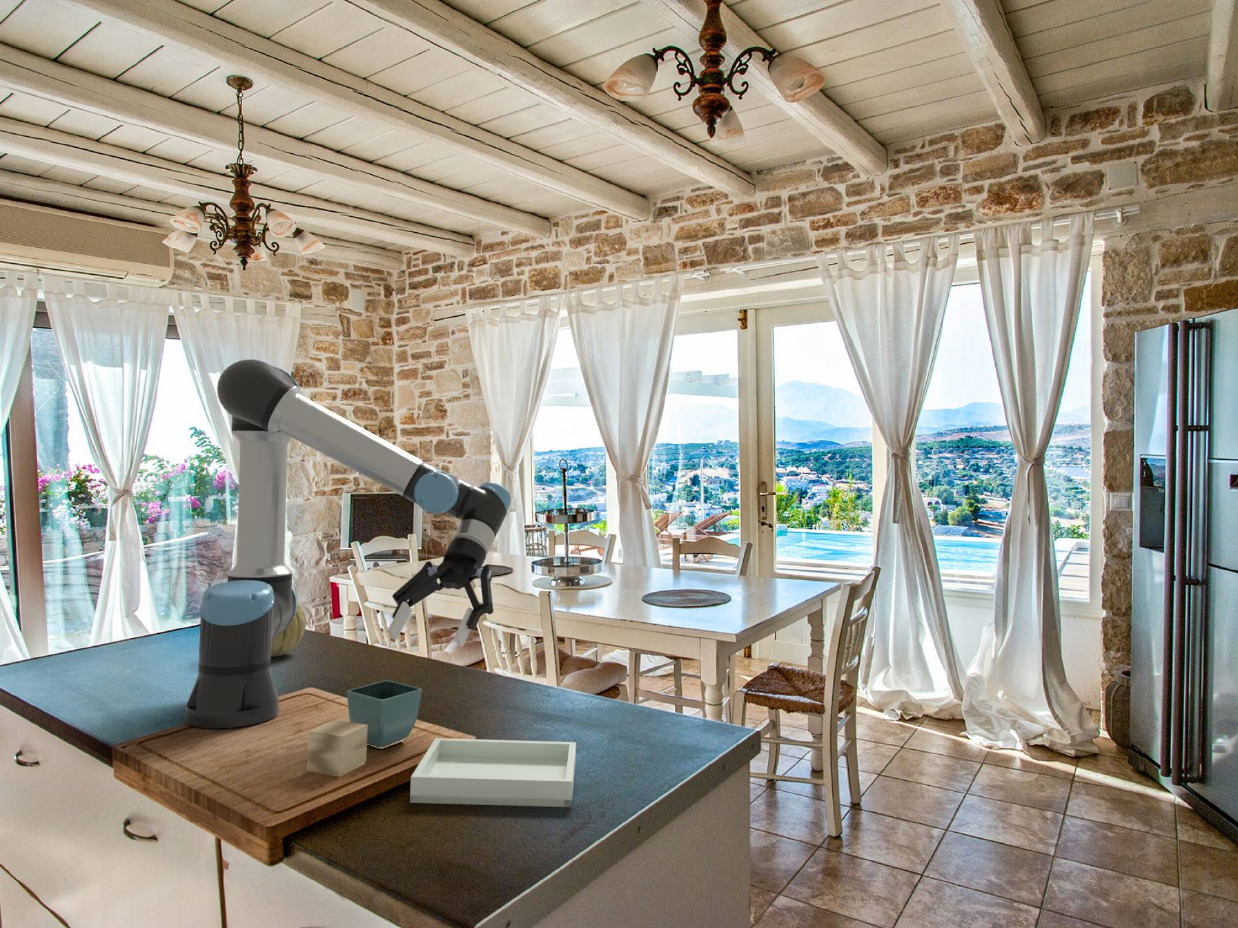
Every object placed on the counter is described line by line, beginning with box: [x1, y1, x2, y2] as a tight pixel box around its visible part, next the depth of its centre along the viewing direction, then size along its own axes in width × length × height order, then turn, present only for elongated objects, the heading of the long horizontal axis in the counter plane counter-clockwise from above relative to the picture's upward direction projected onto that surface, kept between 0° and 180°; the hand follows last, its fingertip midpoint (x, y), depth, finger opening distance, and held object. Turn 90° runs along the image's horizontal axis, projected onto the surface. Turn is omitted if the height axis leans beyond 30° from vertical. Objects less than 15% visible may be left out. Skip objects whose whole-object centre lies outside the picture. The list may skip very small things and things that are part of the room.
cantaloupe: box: [271, 601, 307, 658], centre depth 188 cm, size 15×15×15 cm
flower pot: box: [346, 679, 423, 747], centre depth 131 cm, size 9×9×9 cm
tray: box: [409, 737, 577, 808], centre depth 116 cm, size 22×16×4 cm
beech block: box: [306, 719, 368, 778], centre depth 120 cm, size 6×6×6 cm
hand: (424, 639), depth 141 cm, fingers open, 13 cm apart
